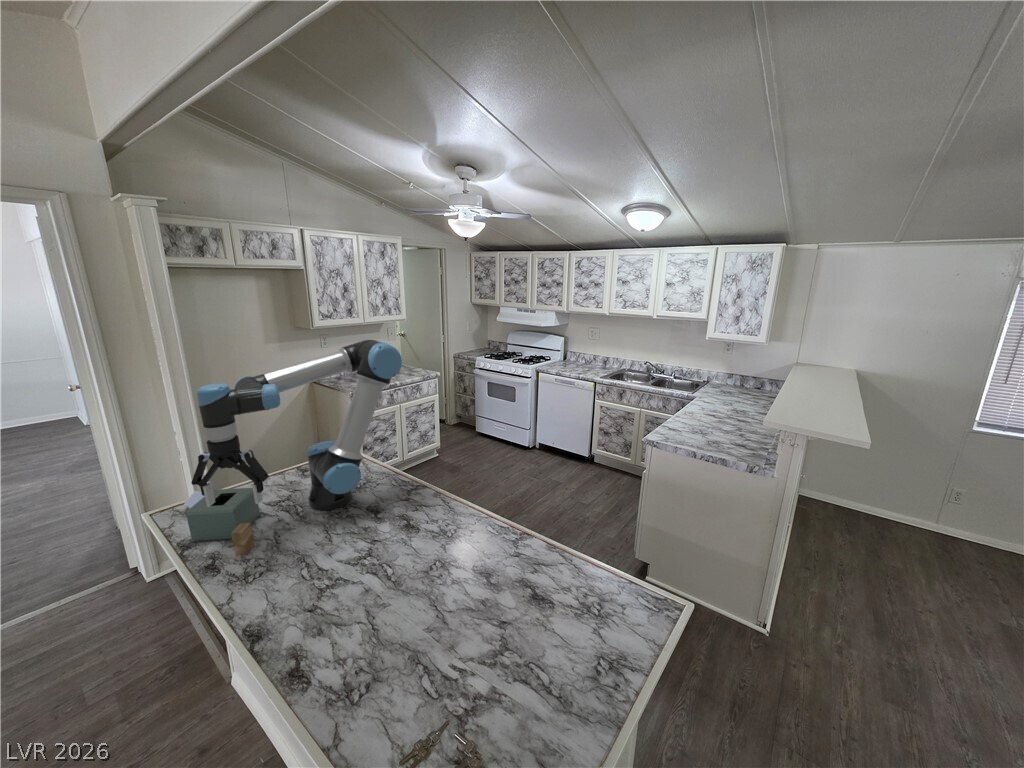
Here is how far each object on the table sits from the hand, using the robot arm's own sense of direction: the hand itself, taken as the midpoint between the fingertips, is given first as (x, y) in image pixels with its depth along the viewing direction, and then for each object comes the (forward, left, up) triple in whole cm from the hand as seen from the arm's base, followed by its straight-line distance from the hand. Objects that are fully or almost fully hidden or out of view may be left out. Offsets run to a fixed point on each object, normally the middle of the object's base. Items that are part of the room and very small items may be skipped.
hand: (235, 503), depth 121 cm
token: (0, 0, -17) cm, 17 cm away
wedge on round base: (+25, -25, -17) cm, 39 cm away
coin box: (+12, -13, -17) cm, 24 cm away
